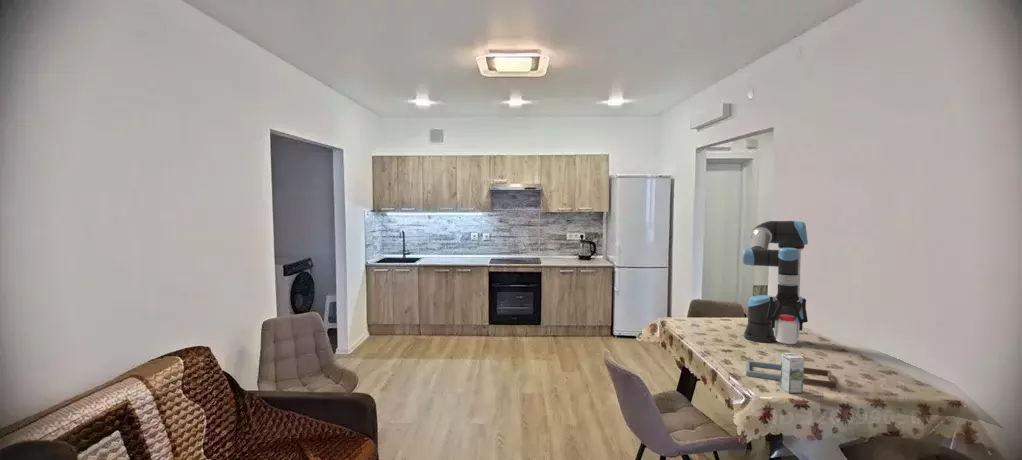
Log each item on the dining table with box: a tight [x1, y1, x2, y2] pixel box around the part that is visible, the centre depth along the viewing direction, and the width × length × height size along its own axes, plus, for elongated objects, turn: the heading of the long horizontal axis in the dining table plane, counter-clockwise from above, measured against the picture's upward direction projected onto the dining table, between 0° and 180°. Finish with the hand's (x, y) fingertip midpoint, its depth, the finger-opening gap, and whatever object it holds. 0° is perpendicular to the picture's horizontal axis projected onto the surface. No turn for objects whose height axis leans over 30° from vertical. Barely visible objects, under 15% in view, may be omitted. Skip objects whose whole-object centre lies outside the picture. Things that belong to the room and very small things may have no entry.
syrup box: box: [779, 352, 805, 394], centre depth 191 cm, size 6×6×14 cm
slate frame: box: [745, 359, 781, 381], centre depth 211 cm, size 15×15×2 cm
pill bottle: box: [775, 315, 798, 345], centre depth 207 cm, size 8×8×11 cm
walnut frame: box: [803, 366, 837, 389], centre depth 204 cm, size 15×15×2 cm
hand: (786, 336), depth 207 cm, fingers closed on pill bottle, 8 cm apart
